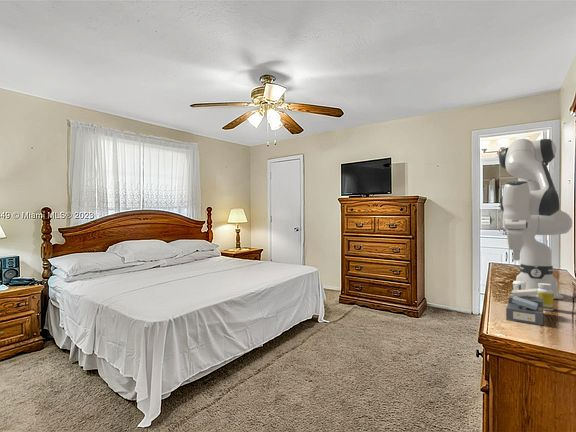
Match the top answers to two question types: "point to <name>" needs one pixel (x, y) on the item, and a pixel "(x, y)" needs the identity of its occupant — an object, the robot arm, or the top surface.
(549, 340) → the top surface
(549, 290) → the supplement bottle
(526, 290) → the rocker rear
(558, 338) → the top surface
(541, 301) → the console
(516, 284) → the milkshake
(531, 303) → the rocker front
